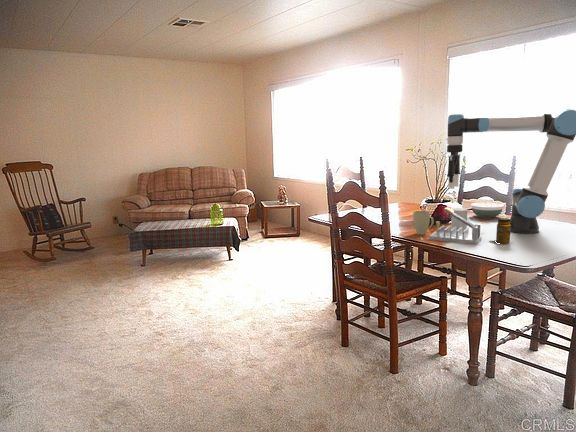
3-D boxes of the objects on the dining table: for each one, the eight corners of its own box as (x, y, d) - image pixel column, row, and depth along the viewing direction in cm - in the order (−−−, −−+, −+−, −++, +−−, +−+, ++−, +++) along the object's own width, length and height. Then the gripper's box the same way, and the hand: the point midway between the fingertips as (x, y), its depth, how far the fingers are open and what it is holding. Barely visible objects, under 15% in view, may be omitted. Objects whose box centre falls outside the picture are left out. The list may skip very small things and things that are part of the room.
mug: (411, 235, 225) (412, 213, 222) (413, 231, 234) (413, 210, 231) (433, 236, 221) (433, 214, 218) (434, 232, 230) (434, 211, 227)
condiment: (513, 243, 201) (515, 219, 198) (498, 245, 199) (500, 221, 197) (503, 240, 208) (504, 216, 205) (488, 241, 206) (489, 218, 204)
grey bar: (478, 231, 208) (480, 227, 207) (476, 232, 204) (479, 229, 203) (444, 210, 215) (447, 206, 214) (442, 211, 212) (444, 207, 211)
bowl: (474, 213, 274) (474, 201, 272) (505, 215, 263) (506, 203, 261) (467, 218, 259) (467, 205, 257) (500, 221, 248) (501, 208, 246)
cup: (468, 231, 227) (468, 210, 224) (452, 231, 228) (453, 210, 226) (464, 228, 234) (465, 207, 232) (449, 228, 236) (450, 208, 234)
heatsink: (481, 239, 211) (482, 223, 210) (476, 244, 202) (477, 228, 200) (435, 234, 224) (436, 220, 223) (429, 239, 215) (429, 224, 213)
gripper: (452, 143, 226) (451, 184, 231) (441, 145, 210) (440, 189, 214) (467, 143, 222) (465, 185, 226) (457, 145, 205) (455, 190, 210)
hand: (453, 187), depth 220 cm, fingers open, 8 cm apart
